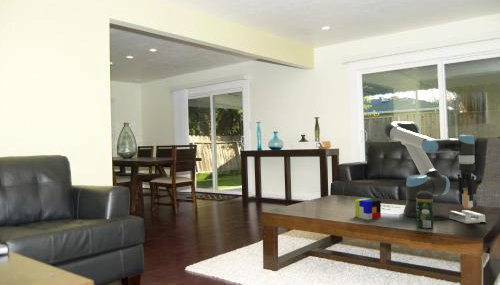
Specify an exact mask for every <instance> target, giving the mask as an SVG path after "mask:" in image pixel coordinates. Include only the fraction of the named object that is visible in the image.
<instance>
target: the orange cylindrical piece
mask: <svg viewBox="0 0 500 285" xmlns="http://www.w3.org/2000/svg"><path fill="white" fill-rule="evenodd" d="M463 190H464V206H463V209H465V210H470V209H472V207H467V194H468V188H463Z"/></svg>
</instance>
